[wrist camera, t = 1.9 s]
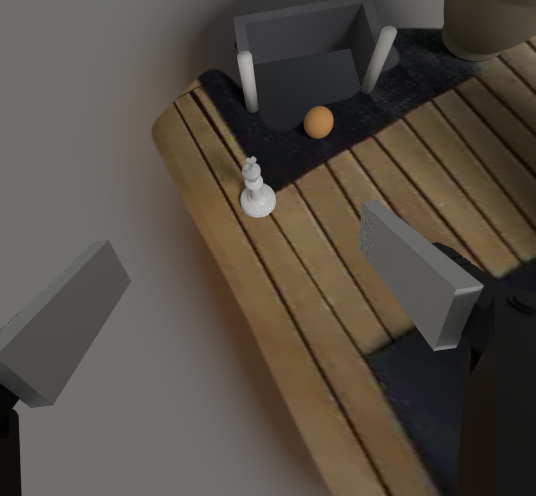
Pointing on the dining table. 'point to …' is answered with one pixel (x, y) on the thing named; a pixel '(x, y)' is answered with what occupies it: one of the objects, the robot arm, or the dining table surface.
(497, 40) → the planter bowl
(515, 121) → the dining table surface
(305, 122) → the ball
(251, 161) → the chess piece
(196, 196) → the dining table surface
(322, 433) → the dining table surface
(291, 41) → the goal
